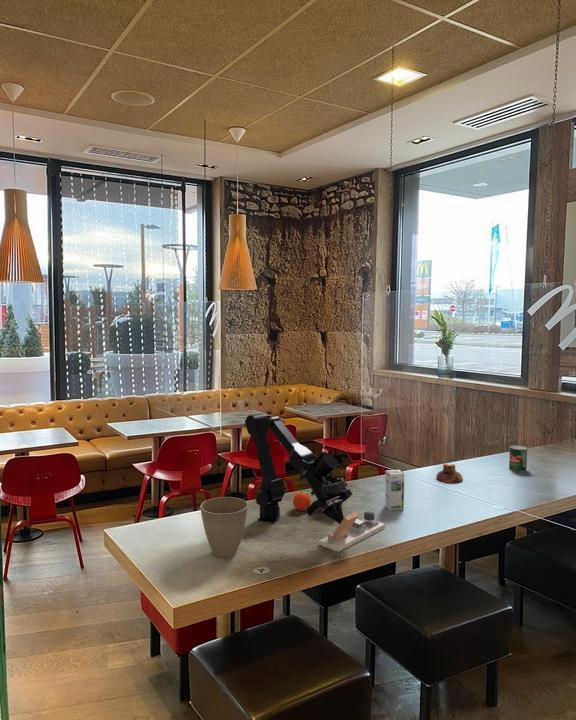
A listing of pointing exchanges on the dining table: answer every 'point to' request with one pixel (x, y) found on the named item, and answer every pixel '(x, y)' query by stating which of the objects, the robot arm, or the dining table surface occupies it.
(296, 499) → the clementine
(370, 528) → the switch console
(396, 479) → the syrup box
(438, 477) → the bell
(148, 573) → the dining table surface
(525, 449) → the canned tomato
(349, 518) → the paddle
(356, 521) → the rocker
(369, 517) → the push button
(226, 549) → the plant pot
